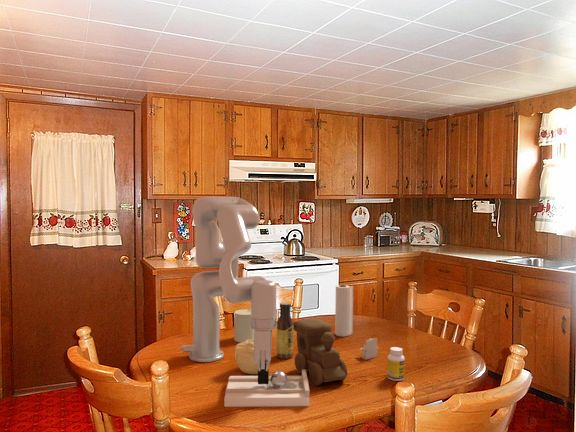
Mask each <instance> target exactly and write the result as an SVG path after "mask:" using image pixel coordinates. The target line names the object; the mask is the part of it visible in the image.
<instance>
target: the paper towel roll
mask: <svg viewBox="0 0 576 432" xmlns="http://www.w3.org/2000/svg"><path fill="white" fill-rule="evenodd" d="M334 310H335V314H334V315H335V316H334V317H335V322H334V324H335V325H334V333H335V336H337V337H348V336H350V335H352V334H354V333H353V332H354V285H351V286H349V285H346V284H337V285H336V286H335V309H334Z"/></svg>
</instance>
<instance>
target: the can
mask: <svg viewBox="0 0 576 432" xmlns="http://www.w3.org/2000/svg"><path fill="white" fill-rule="evenodd" d="M233 312H234V338H233V340H234V341H235V342H237V343H242V342H244V341H246V340H247V339H248V340H254V329H252V328H251V309H247V308H246V309H244V308H243V309H239V310H238V309H237V310H234V311H233Z"/></svg>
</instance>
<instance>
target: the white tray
mask: <svg viewBox="0 0 576 432" xmlns="http://www.w3.org/2000/svg"><path fill="white" fill-rule="evenodd" d="M271 376H272V375H269V383H268V384H258V375H230V376H229V377H228V382H227V385H226V388H225V395H224V401H223V402H224V406H223V407H227V408H228V407H229V408H230V407H233V408H234V407H238V408H239V407H241V408H243V407H246V408H247V407H249V408H250V407H310V393H311V392H310V386H309V379H308V375H307V371H306V370H302V374H301V375H286V376H287V384H286V385H285V387H283V388H281V389H277V388H275V387H273V386H272V384H271Z"/></svg>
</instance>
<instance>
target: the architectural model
mask: <svg viewBox="0 0 576 432" xmlns="http://www.w3.org/2000/svg"><path fill="white" fill-rule="evenodd" d="M378 349H379V346H378V338H370V337H369V338H368V339H367V340H366V341H365V343H364V345H362V347H360V348H359V350H360V351H361V359H363V360H369V359H375V358H377V356H378Z"/></svg>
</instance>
